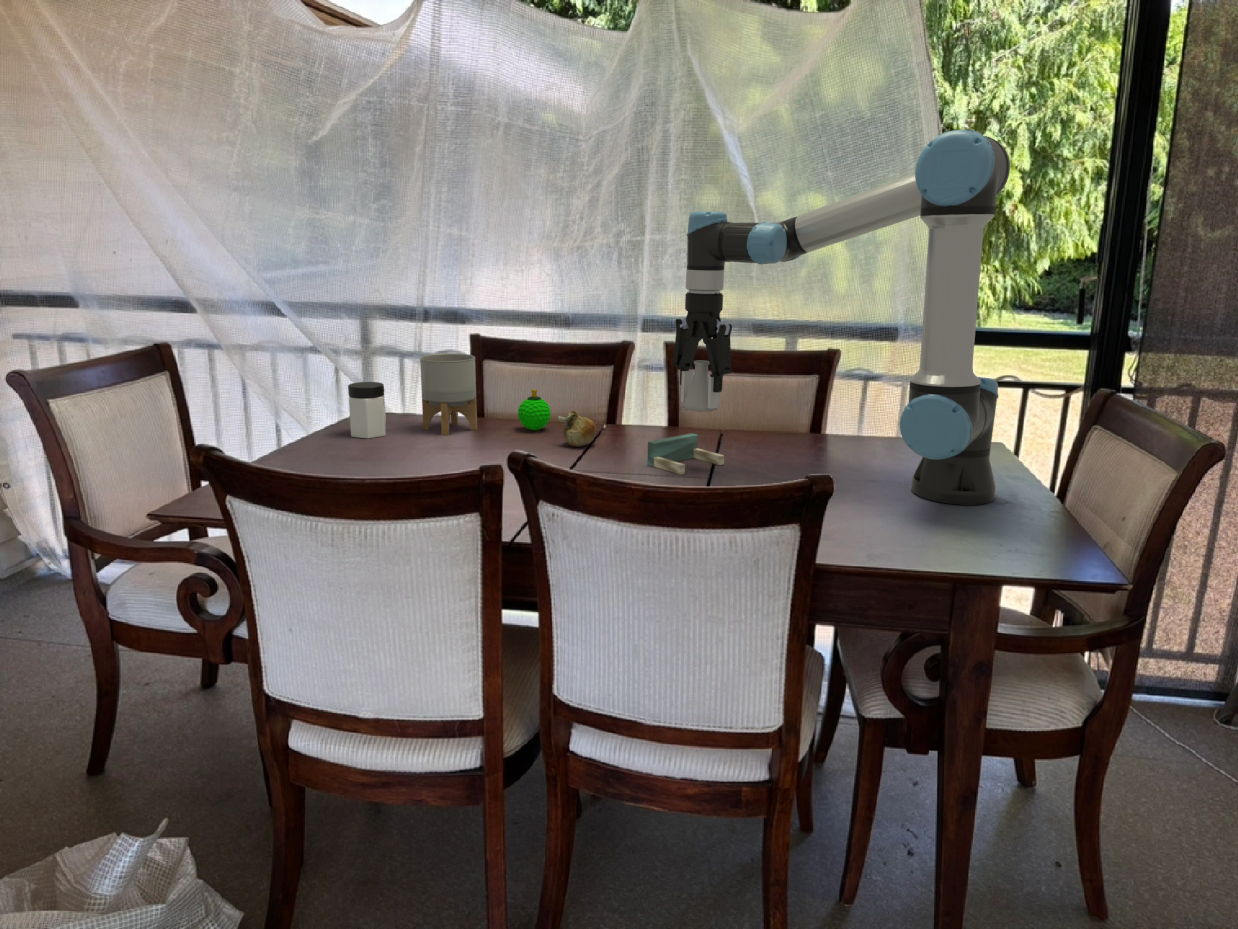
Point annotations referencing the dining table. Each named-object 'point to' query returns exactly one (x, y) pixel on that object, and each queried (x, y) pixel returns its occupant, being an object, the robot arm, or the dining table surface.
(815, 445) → the dining table surface
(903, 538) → the dining table surface
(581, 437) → the onion
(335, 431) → the dining table surface
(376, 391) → the jar
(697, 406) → the flask
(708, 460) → the pocket
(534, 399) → the ornament
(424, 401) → the planter
